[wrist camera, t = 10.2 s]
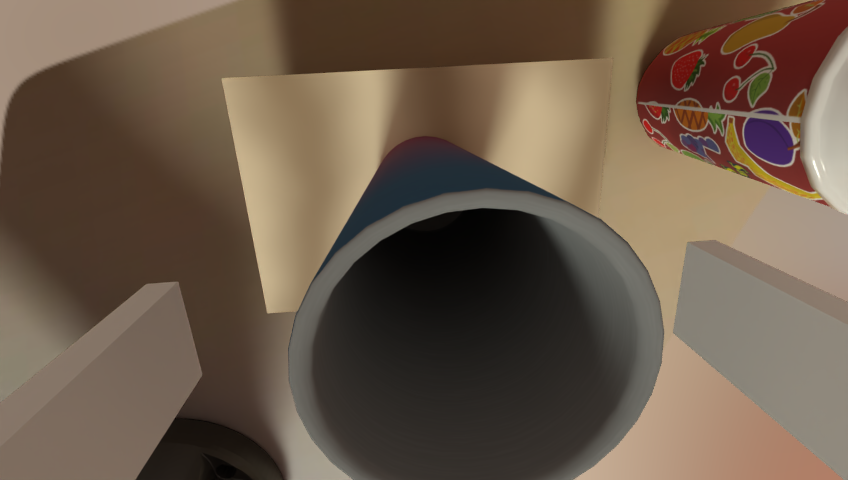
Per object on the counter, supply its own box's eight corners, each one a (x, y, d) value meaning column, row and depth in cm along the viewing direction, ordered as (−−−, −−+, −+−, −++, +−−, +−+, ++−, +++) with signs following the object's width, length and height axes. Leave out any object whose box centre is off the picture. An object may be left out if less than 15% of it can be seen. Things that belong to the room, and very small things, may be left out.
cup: (507, 130, 21) (726, 225, 7) (476, 258, 23) (597, 524, 9) (367, 104, 20) (306, 152, 6) (348, 239, 23) (273, 497, 9)
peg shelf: (292, 267, 30) (267, 313, 24) (261, 79, 26) (221, 78, 20) (554, 249, 30) (592, 289, 25) (564, 63, 26) (613, 57, 20)
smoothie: (624, 176, 29) (1049, 351, 10) (604, 45, 26) (1142, -52, 7) (749, 137, 29) (1430, 242, 10) (742, -1, 26) (1683, -227, 7)
